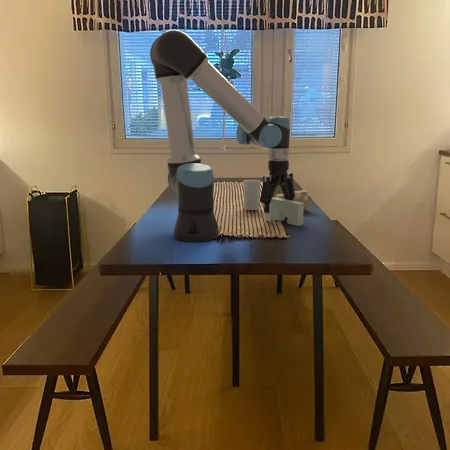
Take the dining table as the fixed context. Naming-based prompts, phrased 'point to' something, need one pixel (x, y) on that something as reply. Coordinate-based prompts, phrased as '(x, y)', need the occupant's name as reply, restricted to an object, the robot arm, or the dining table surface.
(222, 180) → the dining table surface
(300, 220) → the grey-green block
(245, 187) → the mug
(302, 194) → the u-shaped wooden block
